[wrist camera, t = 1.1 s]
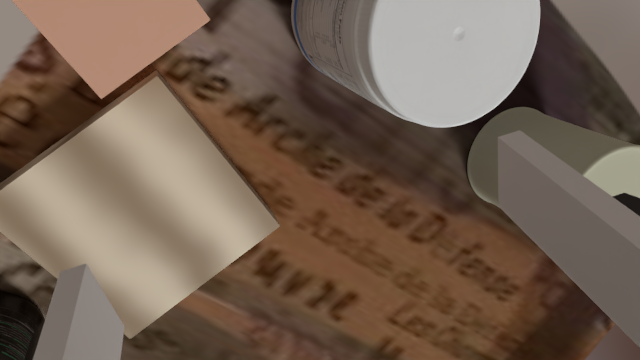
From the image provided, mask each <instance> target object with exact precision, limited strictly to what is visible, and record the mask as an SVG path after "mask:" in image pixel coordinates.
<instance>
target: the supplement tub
mask: <svg viewBox="0 0 640 360" xmlns="http://www.w3.org/2000/svg"><path fill="white" fill-rule="evenodd" d="M291 21H292V28H293V33H294V36H295V39H296V42H297V44H298V46H299V48H300V50H301V52H302V54H303V55H304V56H305V58H306V59H307V60H308V61H309V62H310V63H311V64H312V65H313V66H314V67H315V68H316V69H317V70H319V71H320V72H322V73H323V74H325V75H327V76H328V77H330V78H332V79H333V80H335V81H337V82H338V83H340V84H342V85H343V86H345V87H347V88H349V89H350V90H352V91H354V92H355V93H357V94H359V95H361V96H362V97H364V98H366V99H367V100H369V101H371V102H372V103H374V104H376V105H378V106H379V107H381V108H383V109H385V110H387V111H388V112H390V113H392V114H394V115H395V116H398V117H400V118H402V119H405V120H408V121H412V122H415V123H418V124H421V125H424V126H429V127H444V128H445V127H454V126H459V125H463V124H466V123H469V122H471V121H474V120H476V119H478V118H480V117H482V116H484V115H485V114H487V113H488V112H490V111H491V110H493V109H494V108H495V107H496V106H498V105H499V104H500V103H501V102H502V101H503V100H504V99H505V98H506V97H507V96H508V95H509V94H510V93H511V91H512V90H513V89H514V88H515V86H516V85H517V84H518V82H519V81H520V79H521V78H522V76H523V74H524V73H525V71H526V69H527V67H528V64H529V62H530V60H531V58H532V55H533V52H534V49H535V45H536V42H537V37H538V32H539V25H540V1H539V0H292V5H291Z"/></svg>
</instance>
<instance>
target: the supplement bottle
mask: <svg viewBox="0 0 640 360" xmlns="http://www.w3.org/2000/svg"><path fill="white" fill-rule="evenodd" d="M44 322H45V319H44V317H43V315H42V313H41V312H40V310H39V309H38V308H37V307H36V306H35V305H34V304H32V303H31V302H29V301H28V300H26V299H24V298H22V297H20V296H17V295H14V294H10V293H4V292H0V360H33V357H34V354H35V351H36V348H37V344H38V341H39V338H40V335H41V332H42V328H43V325H44Z"/></svg>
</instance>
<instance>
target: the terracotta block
mask: <svg viewBox="0 0 640 360" xmlns="http://www.w3.org/2000/svg"><path fill="white" fill-rule="evenodd" d="M12 1H13V2H14V3H15V4H16V6H18V8H19V9H20V10H21V11H22V12H23V13H24V14H25V15H26V16H27V17H28V19H29V20H30V21H31V22H32V23H33V24H34V25H35V27H36V28H37V29H38V30H39V31H40V32H41V33H42V34H43V35H44V36H45V38H46V39H47V40H48V41H49V42H50V43H51V44H52V45H53V46H54V47H55V49H56V50H57V51H58V52H59V53H60V54H61V55H62V56H63V57H64V59H65V60H66V61H67V62H68V63H69V64H70V65H71V66H72V67H73V68H74V70H75V71H76V72H77V73H78V74H79V75H80V76H81V77H82V78H83V80H84V81H85V82H86V83H87V84H88V85H89V86H90V87H91V88H92V89H93V91H94V92H95V93H96V94H97V95H98V96H99V97H100V98H101V99H102V98H104V97H105V96H106V95H108V94H109V93H110V92H112V91H113V90H115V89H116V88H117V87H119V86H120V85H121V84H123V83H124V82H126V81H127V80H128V79H130V78H131V77H132V76H134V75H135V74H137V73H138V72H139V71H141V70H142V69H143V68H145V67H146V66H148V65H149V64H150V63H152V62H153V61H155V60H156V59H157V58H159V57H160V56H161V55H163V54H164V53H166V52H167V51H168V50H170V49H171V48H172V47H174V46H175V45H177V44H178V43H179V42H181V41H182V40H183V39H185V38H186V37H188V36H189V35H190V34H192V33H193V32H194V31H196V30H197V29H199V28H200V27H201V26H203V25H204V24H205V23H207V22H208V21H210V19H209V17H208V16H207V15H206V13H205V12H204V10H203V9H202V7H201V6H200V5H199V3H198V2H197V0H12Z"/></svg>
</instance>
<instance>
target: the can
mask: <svg viewBox="0 0 640 360" xmlns="http://www.w3.org/2000/svg"><path fill="white" fill-rule="evenodd" d="M519 130H520V131H522V132H523V133H524V134H526V135H527V136H528V137H530V138H531V139H533V140H534V141H535V142H537V143H538V144H540V145H541V146H542V147H544V148H545V149H547V150H548V151H549V152H551V153H552V154H554V155H555V156H556V157H558V158H559V159H561V160H562V161H563V162H565V163H566V164H567V165H569V166H570V167H572V168H573V169H574V170H576V171H577V172H579V173H580V174H581V175H583V176H584V177H586V178H587V179H588V180H590V181H591V182H593V183H594V184H595V185H597V186H598V187H600V188H601V189H602V190H604V191H605V192H606V193H608V194H609V195H611V196H612V197H613V196H616V195H619V194H622V193H627V194H630V195H633V196H635V197H638V198H640V145H634V144H631V143H627V142H624V141H621V140H618V139H615V138H612V137H609V136H605V135H602V134H599V133H596V132H593V131H590V130H588V129H585V128H582V127H579V126H576V125H573V124H570V123H567V122H564V121H561V120H558V119H556V118H553V117H550V116H547V115H545V114H543V113H541V112H540V111H538V110H536V109H533V108H529V107H515V108H511V109H508V110H505V111H503V112H501V113H499V114H498V115H496V116H495V117H493V118H492V119H491V120H490V121H488V122H487V123H486V124H485V125H484V127H483V128H482V129H481V130H480V132H479V133H478V135H477V136H476V138H475V140H474V142H473V144H472V146H471V149H470V152H469V156H468V162H467V173H468V179H469V182H470V185H471V187H472V189H473V190H474V191H475V193H476V194H477V195H478V196H479V197H481V198H482V199H483V200H485V201H487V202H490V203H493V204H494V205H496V206H498V207H499V203H498V137H499V136H503V135H506V134H509V133H512V132H516V131H519ZM499 208H500V207H499Z"/></svg>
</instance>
